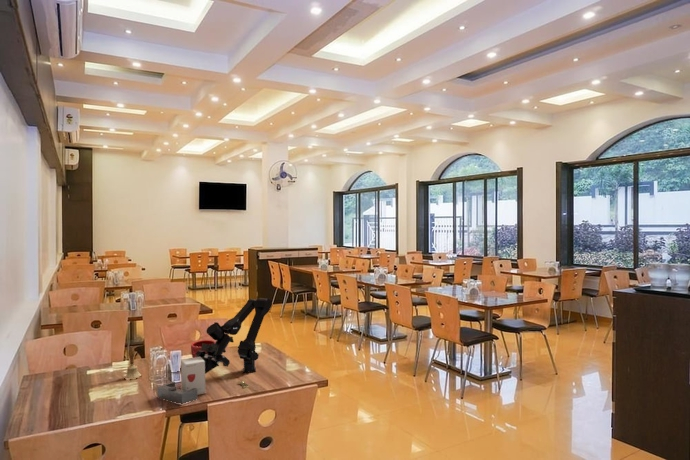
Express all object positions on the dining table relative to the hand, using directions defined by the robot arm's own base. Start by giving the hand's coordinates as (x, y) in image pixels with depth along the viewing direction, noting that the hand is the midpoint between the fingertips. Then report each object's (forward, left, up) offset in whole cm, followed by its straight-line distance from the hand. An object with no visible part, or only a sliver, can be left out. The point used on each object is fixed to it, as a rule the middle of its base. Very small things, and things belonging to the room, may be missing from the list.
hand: (202, 374), depth 221 cm
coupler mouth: (+10, -10, -7) cm, 16 cm away
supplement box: (+4, -4, -7) cm, 9 cm away
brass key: (0, +19, -7) cm, 20 cm away
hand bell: (-27, -36, -7) cm, 46 cm away
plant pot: (-38, -2, -7) cm, 38 cm away
